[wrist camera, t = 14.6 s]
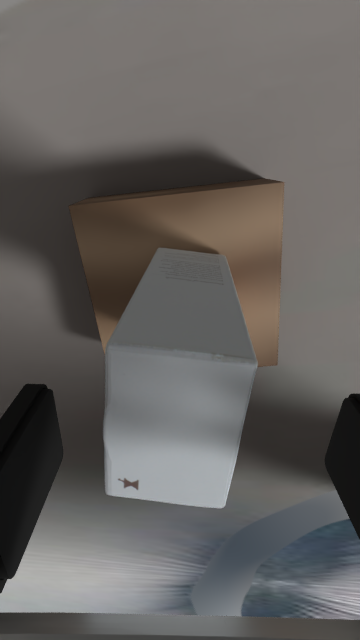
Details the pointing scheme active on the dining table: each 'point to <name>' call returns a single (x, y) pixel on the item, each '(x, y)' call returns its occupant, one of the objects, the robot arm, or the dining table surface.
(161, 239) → the tan flat square block
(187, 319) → the skincare box
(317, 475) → the dining table surface
